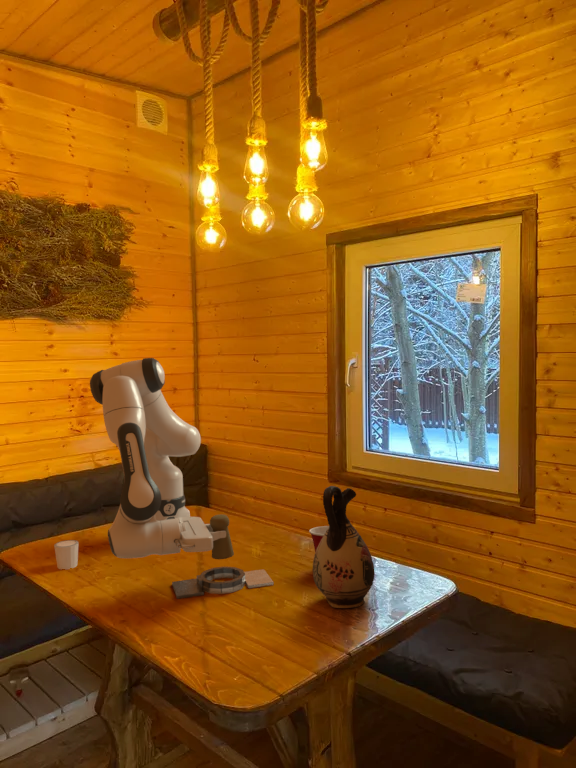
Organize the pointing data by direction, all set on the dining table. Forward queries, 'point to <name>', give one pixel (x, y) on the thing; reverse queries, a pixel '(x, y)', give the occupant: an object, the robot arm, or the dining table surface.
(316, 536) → the plastic cup
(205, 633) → the dining table surface
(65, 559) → the shot glass
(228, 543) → the cork
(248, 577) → the ring
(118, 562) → the dining table surface
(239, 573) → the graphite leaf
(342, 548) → the ceramic jug
